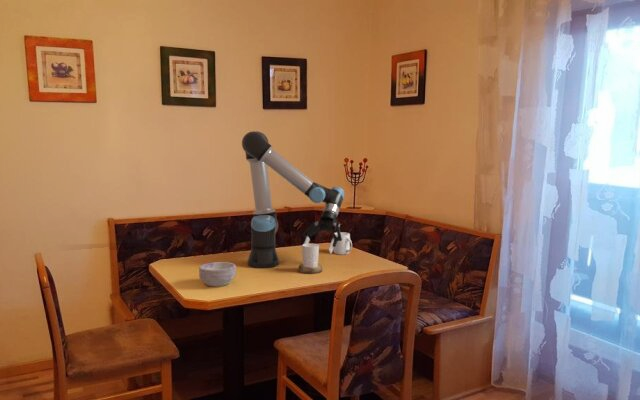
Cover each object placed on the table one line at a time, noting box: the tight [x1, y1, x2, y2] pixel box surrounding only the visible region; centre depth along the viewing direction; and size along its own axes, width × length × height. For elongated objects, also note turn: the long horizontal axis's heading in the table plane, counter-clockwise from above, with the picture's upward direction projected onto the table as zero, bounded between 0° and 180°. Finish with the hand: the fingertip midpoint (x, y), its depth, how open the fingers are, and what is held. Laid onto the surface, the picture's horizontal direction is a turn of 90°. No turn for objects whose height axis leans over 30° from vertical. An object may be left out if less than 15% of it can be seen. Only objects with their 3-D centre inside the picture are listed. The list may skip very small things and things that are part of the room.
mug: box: [333, 231, 353, 256], centre depth 276 cm, size 9×12×11 cm
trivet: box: [298, 263, 323, 275], centre depth 241 cm, size 11×11×2 cm
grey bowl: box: [198, 261, 237, 287], centre depth 218 cm, size 15×15×8 cm
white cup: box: [301, 242, 320, 268], centre depth 240 cm, size 8×8×10 cm
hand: (316, 250), depth 245 cm, fingers open, 13 cm apart
